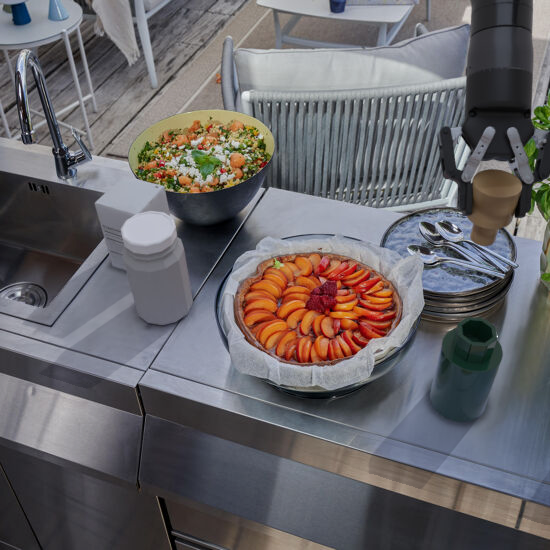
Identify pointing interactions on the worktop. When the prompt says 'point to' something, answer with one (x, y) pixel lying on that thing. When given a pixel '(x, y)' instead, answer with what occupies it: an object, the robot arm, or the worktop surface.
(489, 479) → the worktop surface
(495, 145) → the robot arm
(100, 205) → the rectangular carton
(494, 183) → the stopper
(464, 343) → the flask
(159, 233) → the jar
